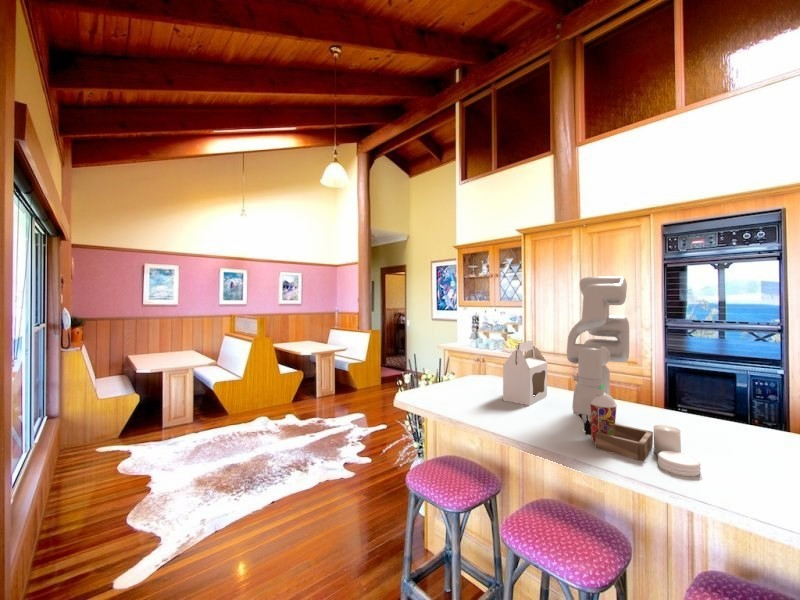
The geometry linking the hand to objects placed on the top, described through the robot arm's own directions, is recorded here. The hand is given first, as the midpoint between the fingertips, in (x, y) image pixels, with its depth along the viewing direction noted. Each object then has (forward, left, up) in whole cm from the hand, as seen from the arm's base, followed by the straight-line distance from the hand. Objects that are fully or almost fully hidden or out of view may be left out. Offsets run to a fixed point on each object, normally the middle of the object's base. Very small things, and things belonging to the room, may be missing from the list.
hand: (589, 433), depth 130 cm
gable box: (-34, -39, -2) cm, 52 cm away
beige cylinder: (-5, +22, -2) cm, 23 cm away
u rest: (-1, +10, -2) cm, 10 cm away
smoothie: (0, +4, -2) cm, 5 cm away
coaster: (+5, +26, -2) cm, 27 cm away
